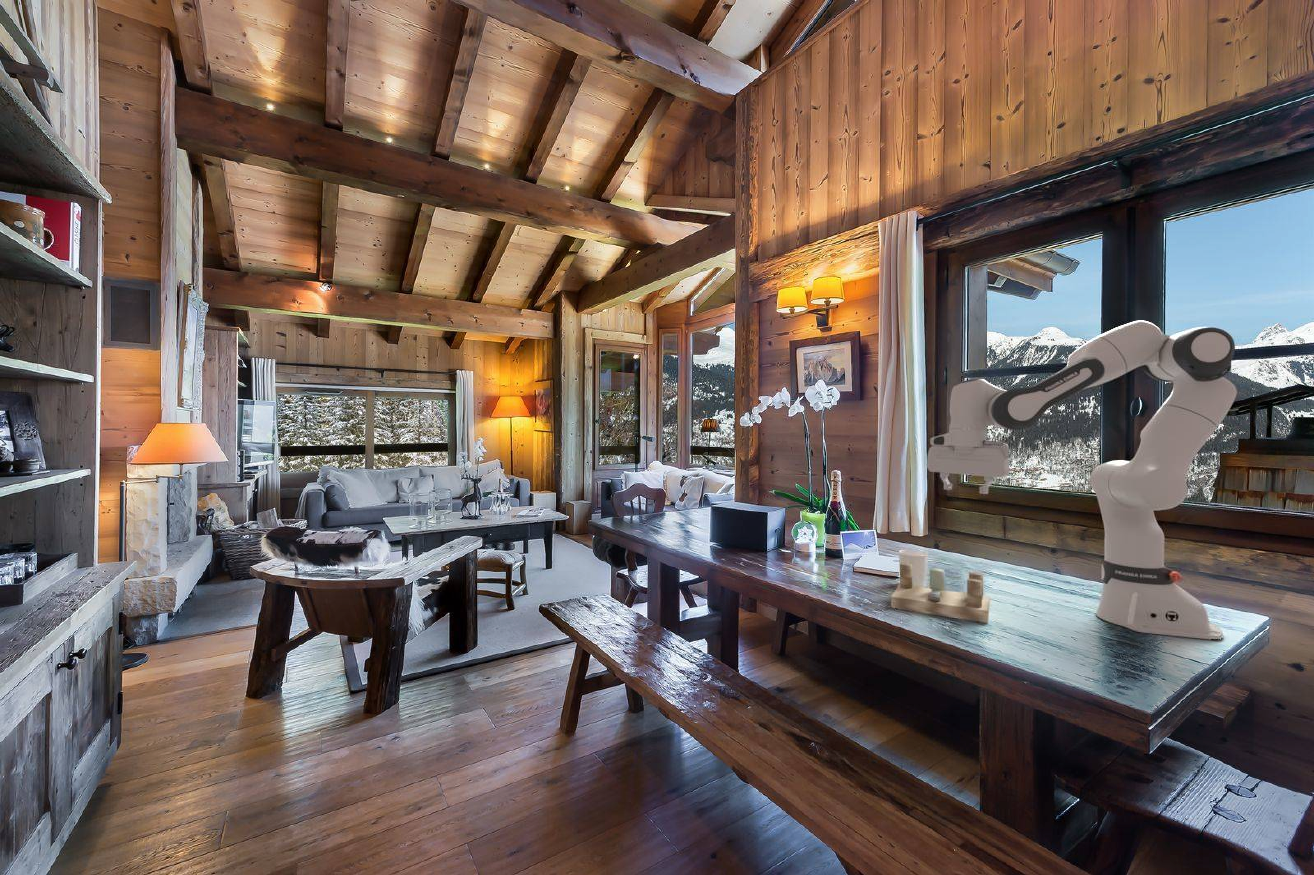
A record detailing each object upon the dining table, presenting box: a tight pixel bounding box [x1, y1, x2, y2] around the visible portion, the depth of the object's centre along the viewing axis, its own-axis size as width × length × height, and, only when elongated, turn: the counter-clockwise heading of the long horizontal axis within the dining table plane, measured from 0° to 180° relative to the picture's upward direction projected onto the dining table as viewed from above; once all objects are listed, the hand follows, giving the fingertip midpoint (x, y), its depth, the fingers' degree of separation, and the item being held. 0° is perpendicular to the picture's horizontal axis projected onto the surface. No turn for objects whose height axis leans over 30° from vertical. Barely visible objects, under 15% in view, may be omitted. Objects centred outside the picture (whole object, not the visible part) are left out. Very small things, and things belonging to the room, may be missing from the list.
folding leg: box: [928, 567, 946, 601], centre depth 146 cm, size 10×4×6 cm, turn 148°
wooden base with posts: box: [890, 563, 991, 624], centre depth 146 cm, size 22×14×9 cm, turn 58°
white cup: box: [898, 549, 929, 588], centre depth 167 cm, size 8×8×10 cm
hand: (965, 491), depth 149 cm, fingers open, 8 cm apart
